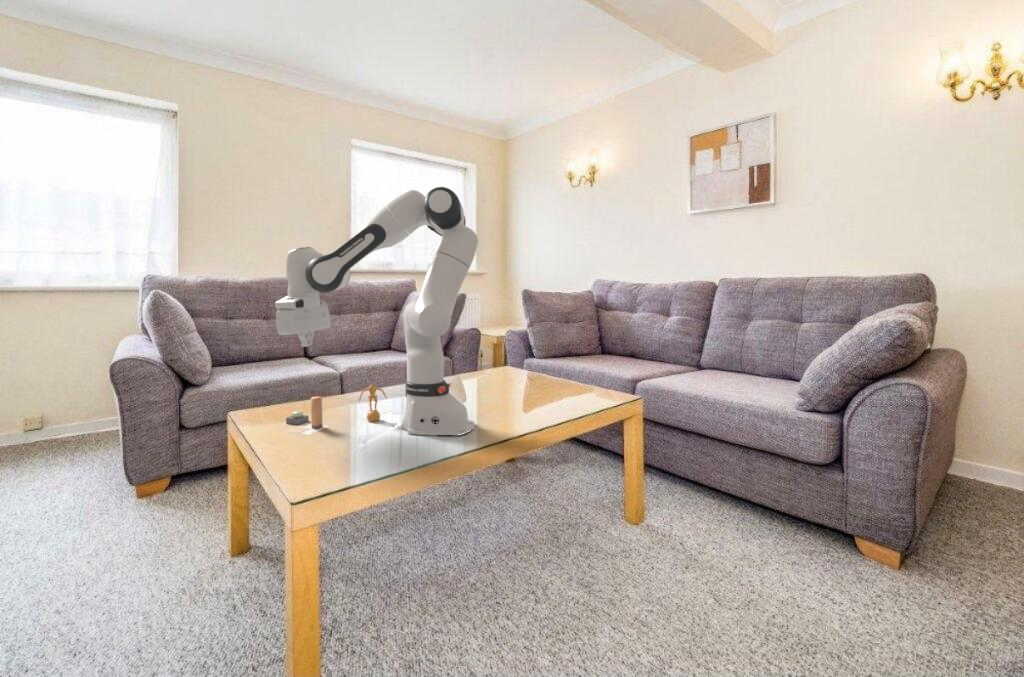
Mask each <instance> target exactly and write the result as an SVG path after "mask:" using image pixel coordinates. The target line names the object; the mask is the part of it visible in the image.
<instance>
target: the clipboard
mask: <svg viewBox="0 0 1024 677" xmlns="http://www.w3.org/2000/svg"><path fill="white" fill-rule="evenodd" d="M309 418H310V417H309V415H307V414H303V417H300V418H292V415H291V416H287V417H286V418H285V422H286V424H288V425H295V426H293V427H291V428H290V429H287V430H284V431H283V432H284V433H290V434H291V433H292V434H296V435H307V436H311V435H313V434H315V433H317V432H319V431H322V430H324V429H326V428H329V427H330V425H325V424H323V427H322V428H320V429H312V422H310V423H309V421H310V420H309Z"/></svg>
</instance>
